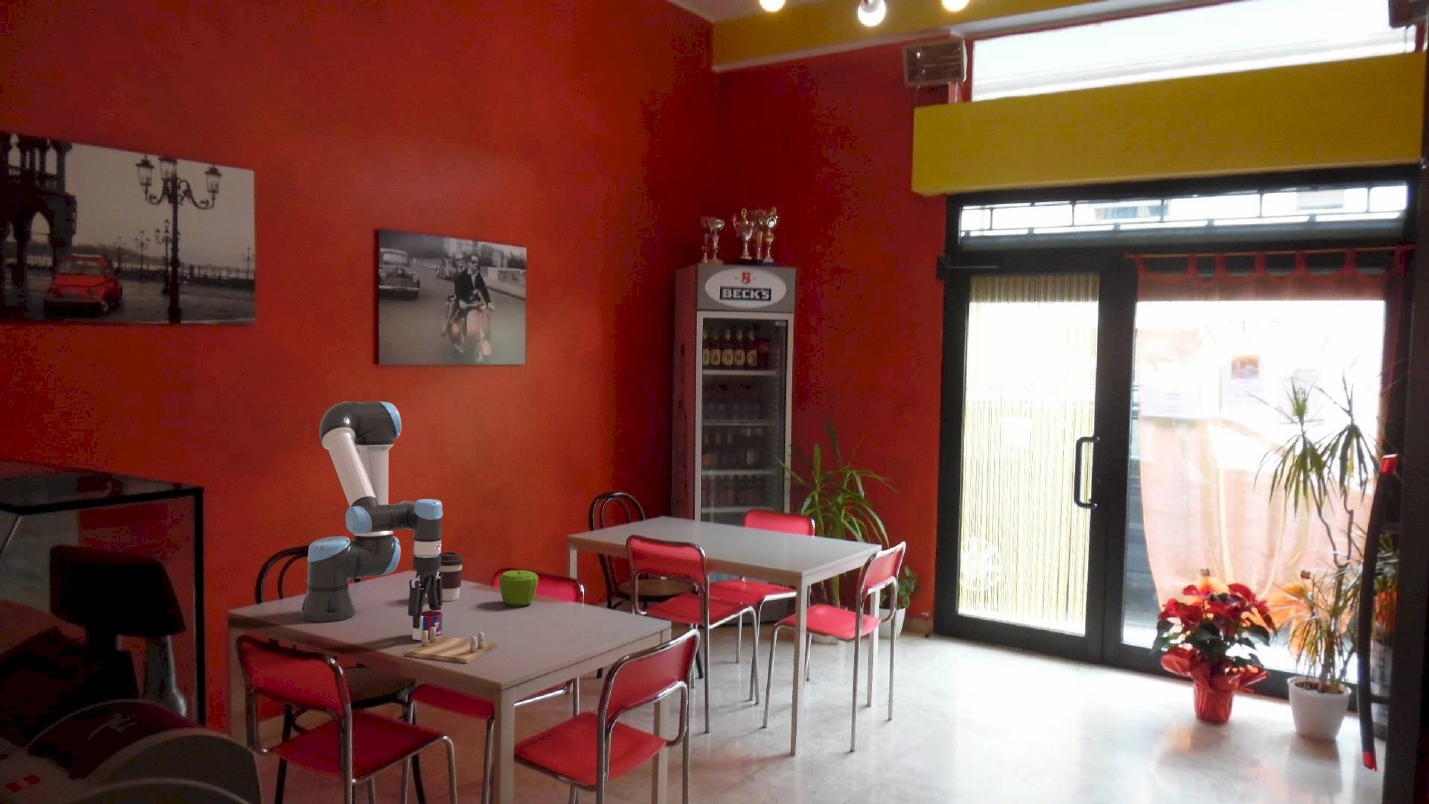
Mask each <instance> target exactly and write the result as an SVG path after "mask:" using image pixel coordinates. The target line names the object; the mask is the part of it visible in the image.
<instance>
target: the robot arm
mask: <svg viewBox="0 0 1429 804" xmlns="http://www.w3.org/2000/svg"><path fill="white" fill-rule="evenodd" d="M318 429H319V430H318V431H319V439H320V442H321V445H322V447H323V448H324V449H325V450H326V451H327V450H328V452H329V455H330V458H331V460H332V463H333V466H334V468H335V471H336V474H337V476H338V479H339V482H340V485H341V487H342V489H343V492H344V495H345V497H346V500H347V503H348V505H349V508H348V509H347V510H346V513H345V522H346V523H345V526H346V528H347V530H348V531H349V532H350V533H351V534H353V539H352V540H351V539H350V537H348V536H346V535H339V536H328V537H327V536H326V537H323V538H319V539H316V540H315V541H313V542H312V543H310V545H309V546H308V553H307V554H308V555H307V558H306V559H307V560H306V561H307V585H306V586H307V591H306V594H305V597H304V599H303V602H302V604H301V605H302V606H301V608H300V619H301V620H303V621H306V622H312V623H313V622H315V623H316V622H318V623H322V622H323V623H328V622H337V621H342V620H343V621H344V620H347V619H349V618H352V617H354V616H355V606H354V602H353V599H352V595H351V593H350V589H349V588H350V587H349V585H350V584H349V583H350V580H354V579H362V578H369V577H381V576H384V575H390V574H391V573H393V572H394V571H395V570H396V569H397V568H398V565H399V562H400V559H401V551H402V550H401V549H402V548H401V545H400V541H399V539H398V537H396V536H394V531H403V530H411V531H412V530H413V545H412V546H413V547H412V548H413V549H412V553H413V554H414V556H413V558H412V568H413V570H415V571H416V574H415V578H414V579H409V582H408V584H409V594H408V595H409V596H408V606H407V607H408V608H407V615H408V616H409V617H412V640H416V641H417V640H418V641H422V631H423V616H421V615H422V612H423V609H424V605H425V599H426V596H427V602H428V607H429V609H428V610H426V611H441V610H442V606H443V601H442V577H443V572H437V570H438V569H439V568H440V567H441V556H440V555H439V554H440V553H442V546H443V545H442V533H443V532H442V530H443V515H444V512H443V503H442V501H440V500H439V499H433V498H432V499H431V498H425V499H424V498H422V499H417V500H416V501H409V500H408V501H407V500H404V501H401V502H399V503H391V504H389V467H390V466H389V464H390V463H389V458H390V457H389V455H390V454H389V451H390V449H391V448H393V447H394V445H395V443H394V440H396V439H398V438H399V437H400V436H401V432H402V419H401V415H400V411H399V410H398V408H397V407H396V406H395V405H394V404H393V403H391V402H387V401H379V400H378V401H342V402H339V403H336V404H334V405H332V406H331V407H330V408H328V409H327V411H326V412H325V413H324V415H323V416H322V418H321V421H320V424H319V428H318Z"/></svg>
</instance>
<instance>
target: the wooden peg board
mask: <svg viewBox="0 0 1429 804" xmlns="http://www.w3.org/2000/svg"><path fill="white" fill-rule="evenodd" d="M496 648H498V642H494V641H493V642H492V641H485V633H484V632H482V631H481V632H478V633H477V636H476V635H472V636H470V638H469V639H468V638H460V637H451V636H443V635H442V636H438V637H436V627H430V640H429V641H428V631H426V630H425V631H422V640H421V643H420V644H419V645H416V646H414V647H412V648H411V649H408V650H406V651H405V652H406V653H405V655H406V657H413V658H421V659H422V658H423V659H429V660H438V661H445V662H452V663H460V664H469V663H471V662H473V661H475V660H476V659H478V658H480V657H482V656H484V655H486V654H487V653H489V652H491V651H492V650H494V649H496Z"/></svg>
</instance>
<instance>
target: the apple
mask: <svg viewBox="0 0 1429 804" xmlns="http://www.w3.org/2000/svg"><path fill="white" fill-rule="evenodd" d="M538 584H539V576H538V574H536V573H535V572H533V571H531V570H524V569H523V570H522V569H521V570H520V569H516V570H508V571H504V572H503V573H501V575H500V576H499V588H500V594H501V599H502V601H503V602H504V603H505V604H506V605H507V606H510V607H515V606H517V607H523V606H527V605H529V604H530V603H532V602H533V601H534V600H535V597H536V592H537V588H538Z"/></svg>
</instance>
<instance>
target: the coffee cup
mask: <svg viewBox="0 0 1429 804" xmlns="http://www.w3.org/2000/svg"><path fill="white" fill-rule="evenodd" d="M439 555H440V556H441V567H440V568H439V569H438V570H437V572H443V577H442V602H451V601H456V600H458V599H459V598H460V592H461V586H462V579H463V578H462V576H463V564H464V563H465V558H464V557H463V556H461V554H460V552H457V551H456V552H455V551H441V553H440V554H439Z"/></svg>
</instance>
